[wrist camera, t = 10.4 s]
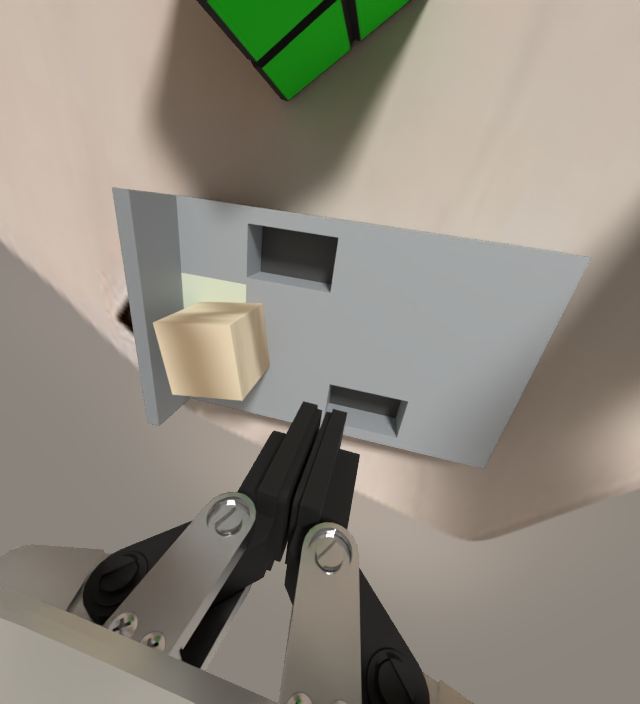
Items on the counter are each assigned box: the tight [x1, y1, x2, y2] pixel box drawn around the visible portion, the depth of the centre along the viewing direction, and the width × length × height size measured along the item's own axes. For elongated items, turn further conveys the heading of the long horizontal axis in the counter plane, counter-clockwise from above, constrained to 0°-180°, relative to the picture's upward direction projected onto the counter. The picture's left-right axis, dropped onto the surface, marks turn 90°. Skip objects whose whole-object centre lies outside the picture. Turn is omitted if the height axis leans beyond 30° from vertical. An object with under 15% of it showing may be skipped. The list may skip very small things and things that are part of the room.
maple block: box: [153, 302, 270, 401], centre depth 20 cm, size 5×5×5 cm
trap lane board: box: [112, 187, 591, 469], centre depth 21 cm, size 26×16×7 cm, turn 82°
